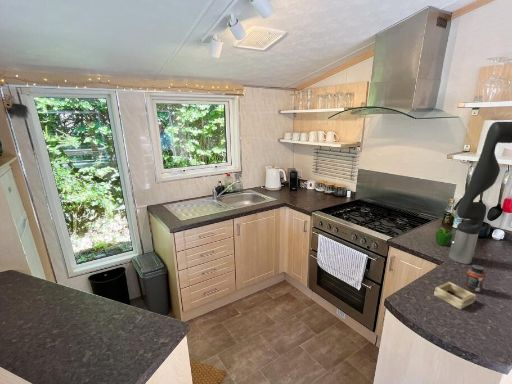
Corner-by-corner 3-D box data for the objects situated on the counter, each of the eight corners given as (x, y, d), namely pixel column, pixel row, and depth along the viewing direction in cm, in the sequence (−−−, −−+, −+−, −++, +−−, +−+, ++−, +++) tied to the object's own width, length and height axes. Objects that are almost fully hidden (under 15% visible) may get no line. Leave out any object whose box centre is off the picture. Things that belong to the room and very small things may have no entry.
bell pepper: (453, 247, 158) (457, 232, 155) (440, 246, 158) (443, 231, 156) (444, 241, 166) (447, 226, 164) (431, 240, 166) (434, 226, 164)
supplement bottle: (481, 294, 114) (488, 272, 111) (464, 290, 117) (470, 268, 114) (479, 287, 119) (485, 265, 116) (463, 283, 122) (468, 262, 119)
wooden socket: (433, 294, 113) (435, 287, 112) (447, 288, 118) (449, 281, 117) (460, 309, 104) (462, 302, 103) (474, 302, 109) (476, 295, 108)
